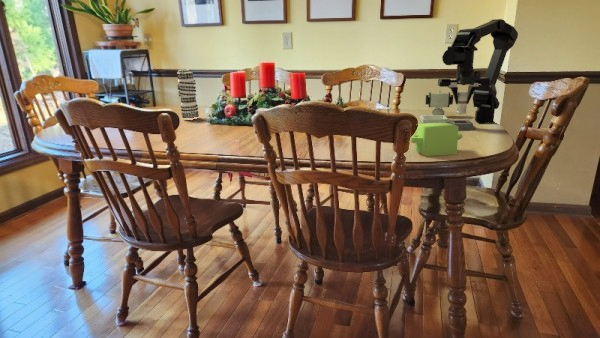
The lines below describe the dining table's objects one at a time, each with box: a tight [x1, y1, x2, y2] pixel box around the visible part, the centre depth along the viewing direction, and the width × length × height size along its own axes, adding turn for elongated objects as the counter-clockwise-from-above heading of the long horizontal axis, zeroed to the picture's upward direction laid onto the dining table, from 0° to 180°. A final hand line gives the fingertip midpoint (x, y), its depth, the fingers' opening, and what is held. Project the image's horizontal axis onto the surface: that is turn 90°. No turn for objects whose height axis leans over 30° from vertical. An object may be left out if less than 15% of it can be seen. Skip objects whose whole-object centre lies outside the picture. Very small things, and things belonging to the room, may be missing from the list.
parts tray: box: [419, 114, 449, 124], centre depth 176 cm, size 10×9×3 cm
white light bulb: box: [455, 91, 468, 115], centre depth 163 cm, size 4×4×8 cm
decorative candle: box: [176, 68, 200, 119], centre depth 207 cm, size 9×9×25 cm
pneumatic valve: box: [424, 89, 454, 115], centre depth 187 cm, size 6×12×12 cm, turn 75°
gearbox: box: [409, 122, 463, 157], centre depth 134 cm, size 18×10×10 cm, turn 97°
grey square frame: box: [448, 119, 474, 131], centre depth 165 cm, size 8×8×2 cm
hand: (461, 104), depth 163 cm, fingers closed on white light bulb, 4 cm apart
